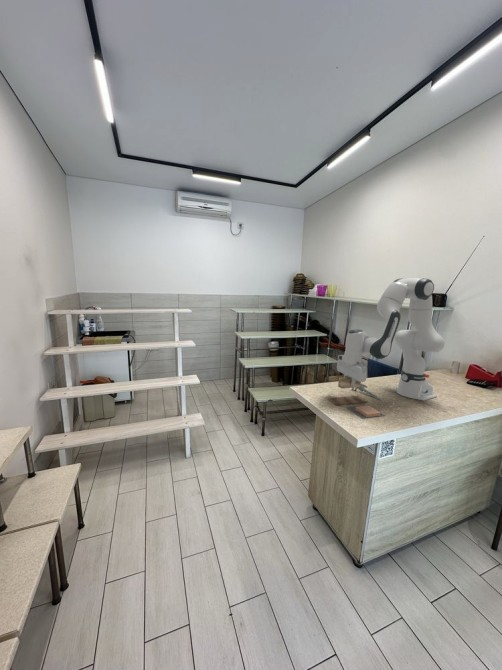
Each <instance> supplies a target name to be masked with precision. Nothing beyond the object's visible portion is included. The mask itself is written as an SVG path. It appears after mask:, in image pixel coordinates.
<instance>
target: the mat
mask: <svg viewBox="0 0 502 670" xmlns="http://www.w3.org/2000/svg"><path fill="white" fill-rule="evenodd" d="M360 406H361V405H359V406H349V407H346V409H347V410H349V411H350V412H352V413H353V414H354V415H355V416H357V417H359V418H360V419H362V420H364V419H371V418H372V419H373V418H381V417H383V418H384V417H386V415H385V414H383V413H382V412H380V413H381V414H380V416H375V417H365V416H364V415H362V414H361V413H359V412H358V411H357V410H356V407H360ZM366 406H370V405H366Z"/></svg>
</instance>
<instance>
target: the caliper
mask: <svg viewBox="0 0 502 670" xmlns="http://www.w3.org/2000/svg"><path fill="white" fill-rule="evenodd" d="M351 390H354V392H356V391H357V390H358V391H361V392H364V393H366V395H367V394H368V395H369V396H371V397H373V398H374V399H376V400H379V401H382V402H385V400H384V399H383V398H382V397H380V396H379V395H376V394H375V393H373V392H371V391H370V390H368V389H366V388H361V387H356V388H351Z"/></svg>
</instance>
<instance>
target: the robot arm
mask: <svg viewBox="0 0 502 670" xmlns="http://www.w3.org/2000/svg"><path fill="white" fill-rule="evenodd" d="M434 290H435V284H434V282H433V281H432V280H431V279H430V278H424V277H423V278H421V277H408V278H397V279H395V280H393V281H392V282H391V283H390V284H389V285H387V288H385V290H384V291H383V293H382V294H381V297H380V298H379V300H378V302H377V305H376V311H377V313H378V314H379V315H380V316H381V317H382V318H383V319H384V320H385V323H384V327H383V330H382V332H381V335H380V336H379V337H374V336H372V335H369V334H367V333H366V332H365V331H364V330H363V329H355V328H354V329H351V330H349V331H347V334H346V338H345V343H344V344H345V345H344V346H345V351H344V353H343V354H339V355H337V359H338V360H337V363H336V370H337V372H339V373H341V374H343V377H351V378H352V382H350V385H351V386H354V385H355V382H356V381H359V382H361V383H364V382H366V381H367V367H366V365H365V363H362V358H363V353H364V354H367V355H369V356H371V357H374V358H376V359H377V360H383V359H385V358H386V357H388V356H389V355H390V354H391V352H392V351H391V350H392V346H393V342H394V341H395V344H396V345H397V346H398V347H399V349H400V350H401V352H402V355H403V362H402V363H403V365H402V369H401V371H400V377H399V380H398V384H397V386H396V388H395V389H396V391H395V392H396V393H397V394H398V395H400V396H403V397H405V398H410V399H414V400H418V401H427V400H431V399H434V398H437V397H438V395H437V394H436V393H435V392H434V391H433V390H434V387H433V385H432V384H430V383H429V381H427V380H426V378H428V379H429V378H430V375H429V374H428V373H425V370H426V365H427V363H426V360H425V358H424V357H422V356H421V354H420V353H419V351H421V352H426V353H439V352H441V351H442V350H443V349H444V347H445V340H444V339H445V338H443V337H442V335H440V333H439V332H437V331H436V329H435V327H434V325H433V324H434V323H433V295H432V294H433V293H434ZM405 299H409V306H408V318H407V319H408V322H409V324H411V326H413V327H414V328H415V329H416V330H413V329H412V330H411V329H400V330H398V328H399V325H400V321H401V313H400V311H401V308H402V306H403V304H404V302H405Z"/></svg>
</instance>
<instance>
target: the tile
mask: <svg viewBox="0 0 502 670" xmlns="http://www.w3.org/2000/svg"><path fill="white" fill-rule="evenodd" d="M359 406H360V407H357V406H355V407H356V410H357V411H358V412H359V413H361V414H362V415H364V416H365V417H374V418H376V417H375V416H380V414H381V413H382V412H380V411H378V410H377V409H376V408H374V407H373V406H370V405H369V406H367V405H359Z"/></svg>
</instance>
